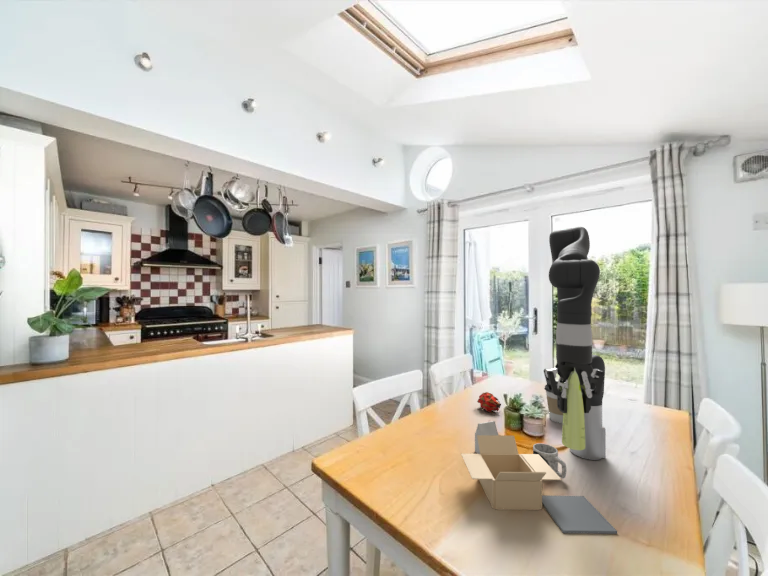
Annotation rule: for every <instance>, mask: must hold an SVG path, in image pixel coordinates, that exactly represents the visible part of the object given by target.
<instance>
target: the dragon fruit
mask: <svg viewBox="0 0 768 576" xmlns="http://www.w3.org/2000/svg"><path fill="white" fill-rule="evenodd" d="M476 402H477V403H478V404H479V405H480V409H481V410H485V411H486V412H488V413H490V414H494V413H495V412H494V411H496V412H499V410H500V409H501V406H502V403H501V402H500V401H499V398H498V397H497V396H494V394H493V393H490V392H489V391H485V392H482V393H481V394H480V395H479V396H478V399H477V401H476Z"/></svg>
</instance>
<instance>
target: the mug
mask: <svg viewBox="0 0 768 576" xmlns="http://www.w3.org/2000/svg"><path fill="white" fill-rule="evenodd" d="M558 451H559V450H558V448H556V447H555V446H553V445H550V444H547V443H544V442H543V443H541V442H540V443H539V442H538V443H534V444H533V446H532V454H539V455H540V456H541V457H542V459H543V460H544V461H545V462H546V463H547V464H548V465H549V466H550V467H551V468H552V469H553V470H554V472H555V473H556V474H557V475H558V476H559V477H560V478H561V479H565V478H566V476H567V465H566V462H565V461H563V459H561V458H560V457H559V452H558ZM559 464H560V465H561V472H560V471H559Z"/></svg>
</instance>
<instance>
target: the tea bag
mask: <svg viewBox="0 0 768 576" xmlns="http://www.w3.org/2000/svg"><path fill="white" fill-rule="evenodd" d="M477 435H497V436H500V434H499V432H498V429H497V425H496V421H495V420H492V421H486V422H480V423H477V427H476V430H475V432H474V452H475V454H480V450H479V444H478V439H477Z"/></svg>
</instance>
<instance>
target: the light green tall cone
mask: <svg viewBox="0 0 768 576" xmlns="http://www.w3.org/2000/svg"><path fill="white" fill-rule="evenodd" d="M566 398H567V413H563V423H562V429H561V432H562V433H561V443H562V445H563V446H564V447H565V448H568V449H569V450H570V449H573V450H579V451H580V450H584V449H585V419H584V407H583V399H582V393H581V387H580V382H579V378H578V375H577V373H576V371H575V368H574V372H573V374H572V376H571V378H570V384H569V389H568V392H567V395H566Z"/></svg>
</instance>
